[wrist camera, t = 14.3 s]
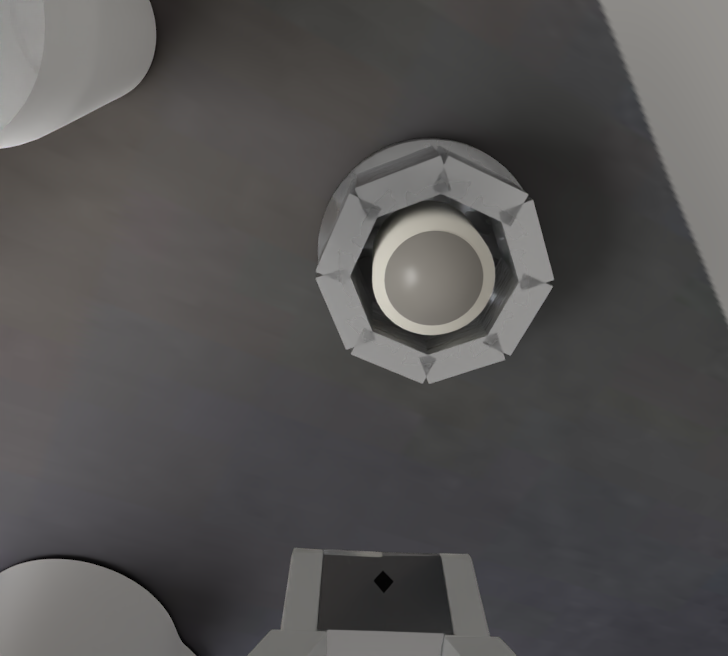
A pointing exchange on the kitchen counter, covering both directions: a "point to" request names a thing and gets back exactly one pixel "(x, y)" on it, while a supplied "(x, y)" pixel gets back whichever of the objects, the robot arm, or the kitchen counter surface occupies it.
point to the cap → (431, 269)
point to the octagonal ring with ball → (487, 214)
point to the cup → (68, 60)
